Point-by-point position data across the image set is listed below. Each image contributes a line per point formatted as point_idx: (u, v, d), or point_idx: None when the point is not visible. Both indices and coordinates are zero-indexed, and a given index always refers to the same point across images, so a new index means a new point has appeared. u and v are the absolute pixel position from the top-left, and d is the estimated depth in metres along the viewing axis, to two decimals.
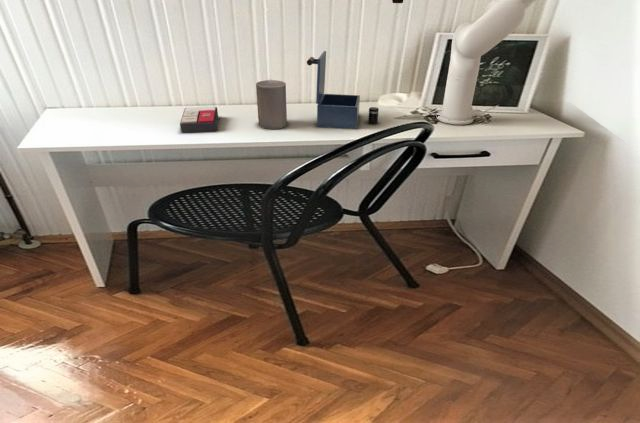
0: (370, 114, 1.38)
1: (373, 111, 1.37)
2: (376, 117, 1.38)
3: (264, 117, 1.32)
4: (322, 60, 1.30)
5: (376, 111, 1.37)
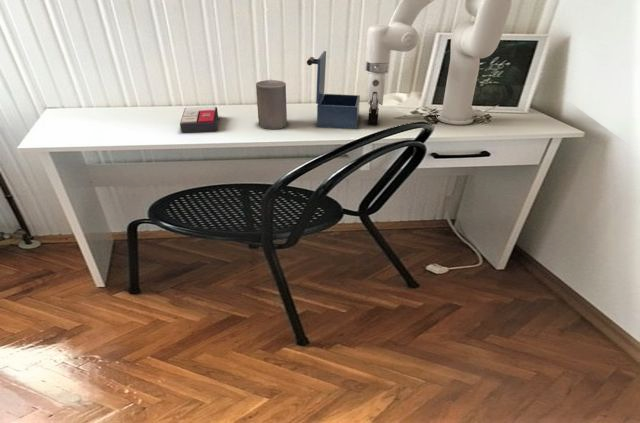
0: None
1: None
2: None
3: (264, 117, 1.32)
4: (322, 60, 1.30)
5: None
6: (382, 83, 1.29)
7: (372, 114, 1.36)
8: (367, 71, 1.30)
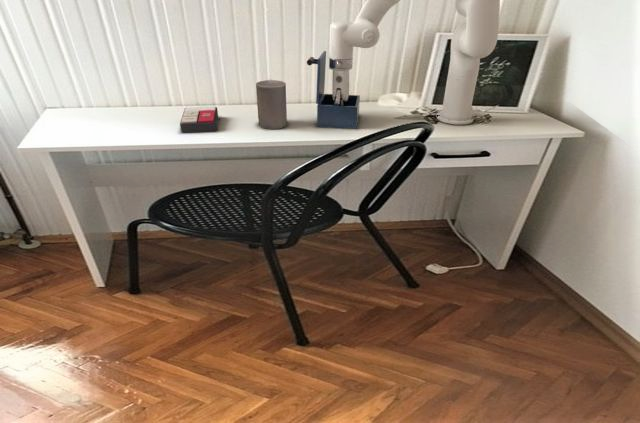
0: None
1: None
2: None
3: (264, 117, 1.32)
4: (322, 60, 1.30)
5: None
6: (345, 79, 1.30)
7: None
8: (331, 67, 1.31)
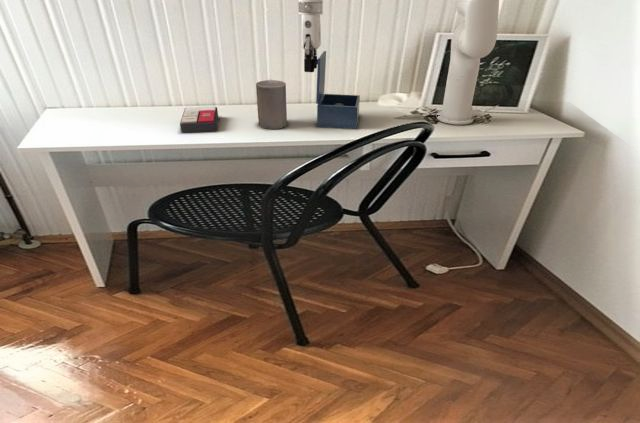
0: None
1: None
2: None
3: (264, 117, 1.32)
4: (322, 60, 1.30)
5: None
6: (315, 24, 1.23)
7: (307, 60, 1.29)
8: (299, 12, 1.24)
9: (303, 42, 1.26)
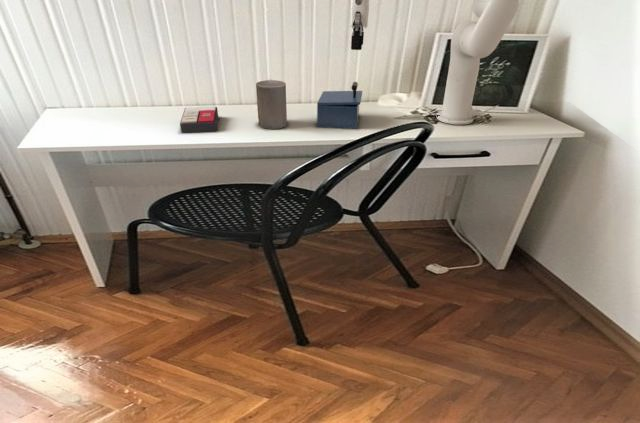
0: None
1: None
2: None
3: (264, 117, 1.32)
4: None
5: None
6: (366, 1, 1.18)
7: (355, 36, 1.22)
8: None
9: (352, 20, 1.21)
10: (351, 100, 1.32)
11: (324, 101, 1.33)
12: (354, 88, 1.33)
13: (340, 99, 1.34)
